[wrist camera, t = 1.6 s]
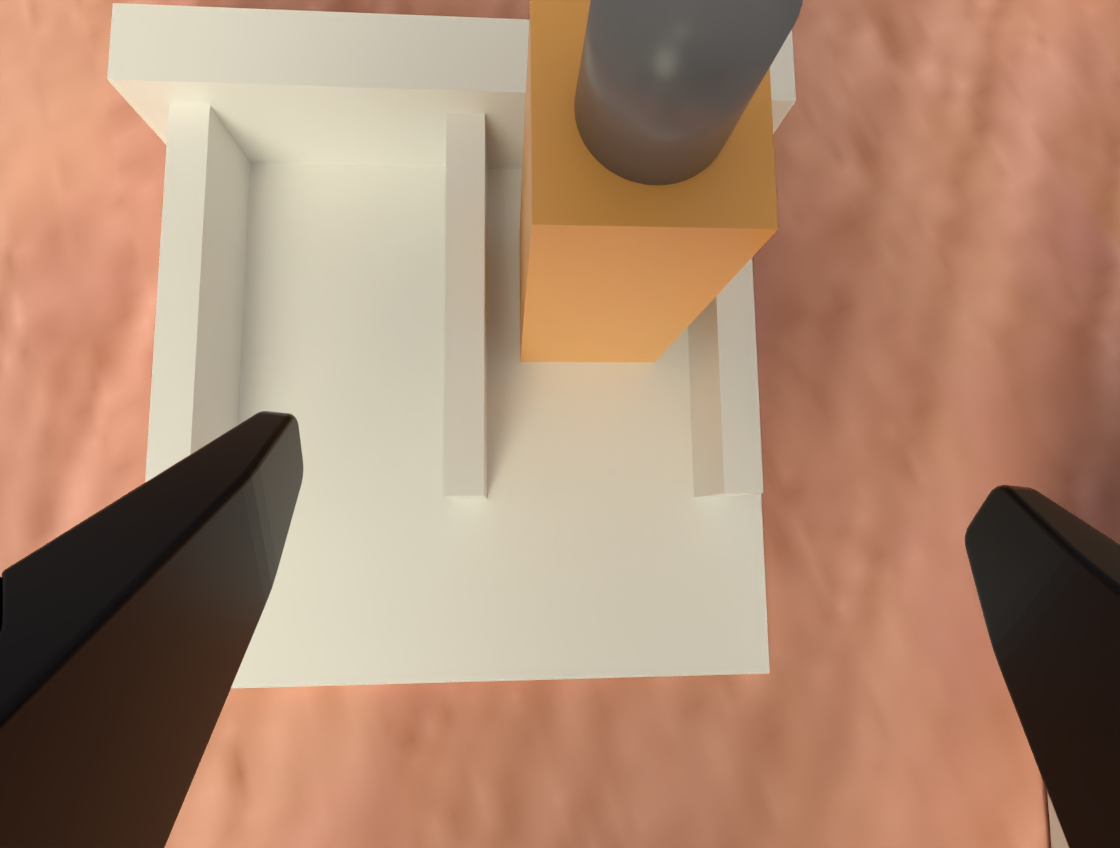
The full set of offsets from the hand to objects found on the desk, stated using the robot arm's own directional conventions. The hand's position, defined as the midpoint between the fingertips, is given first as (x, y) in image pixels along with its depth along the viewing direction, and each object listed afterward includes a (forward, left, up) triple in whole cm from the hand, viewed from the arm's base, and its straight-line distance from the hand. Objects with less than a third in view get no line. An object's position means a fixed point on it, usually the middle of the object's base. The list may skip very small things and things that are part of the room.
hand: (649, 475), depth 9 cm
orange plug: (+6, +2, -12) cm, 13 cm away
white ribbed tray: (+3, +4, -12) cm, 13 cm away
